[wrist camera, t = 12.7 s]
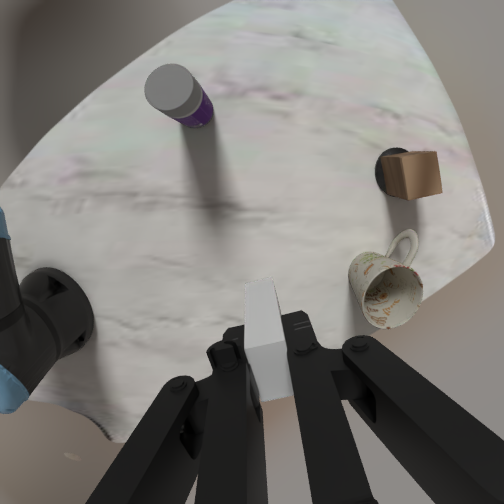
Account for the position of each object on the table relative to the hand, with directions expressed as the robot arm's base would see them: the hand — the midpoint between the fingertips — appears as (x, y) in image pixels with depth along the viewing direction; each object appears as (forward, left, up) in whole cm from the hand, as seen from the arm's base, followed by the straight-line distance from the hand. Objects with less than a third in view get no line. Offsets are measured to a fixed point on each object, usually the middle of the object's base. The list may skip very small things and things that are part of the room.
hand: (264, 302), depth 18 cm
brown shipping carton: (+21, +2, -25) cm, 33 cm away
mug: (+15, -10, -27) cm, 32 cm away
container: (-4, +16, -27) cm, 31 cm away
